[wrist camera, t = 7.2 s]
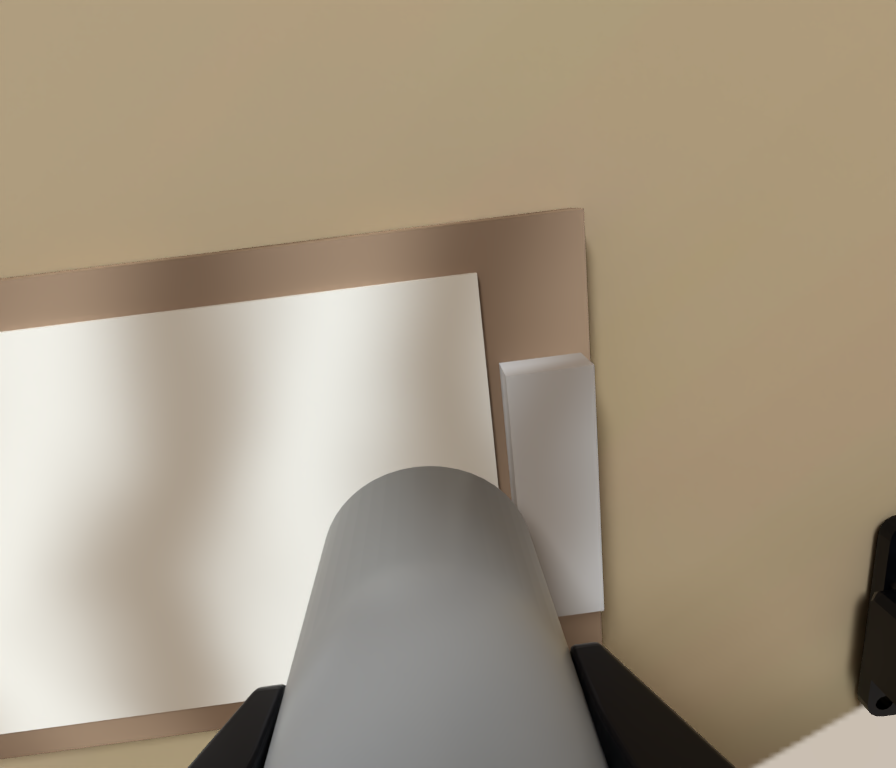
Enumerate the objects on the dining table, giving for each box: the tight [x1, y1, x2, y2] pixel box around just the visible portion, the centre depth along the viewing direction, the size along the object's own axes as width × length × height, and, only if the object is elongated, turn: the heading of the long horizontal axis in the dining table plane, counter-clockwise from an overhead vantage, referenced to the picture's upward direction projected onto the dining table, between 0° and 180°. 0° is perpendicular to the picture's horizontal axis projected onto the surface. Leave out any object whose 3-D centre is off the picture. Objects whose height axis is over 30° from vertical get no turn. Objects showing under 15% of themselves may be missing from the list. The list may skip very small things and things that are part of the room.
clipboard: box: [0, 208, 604, 759], centre depth 13 cm, size 18×12×2 cm, turn 97°
